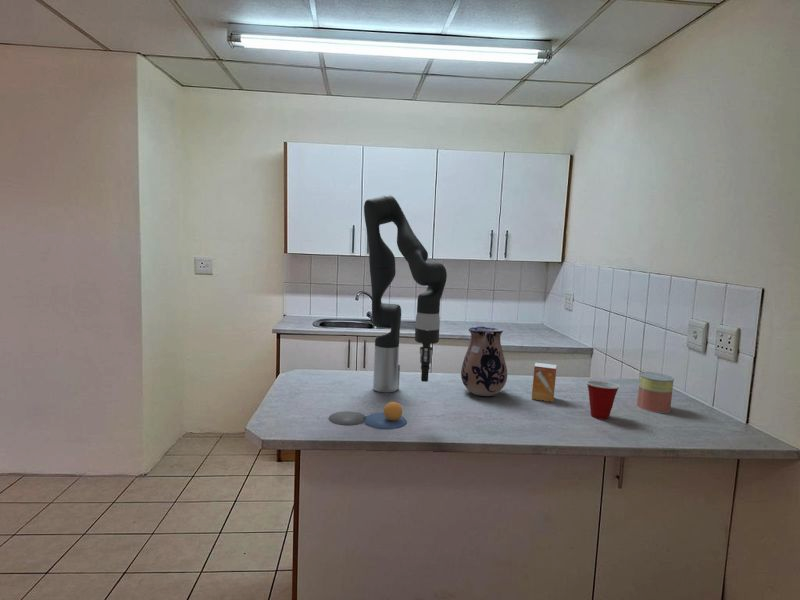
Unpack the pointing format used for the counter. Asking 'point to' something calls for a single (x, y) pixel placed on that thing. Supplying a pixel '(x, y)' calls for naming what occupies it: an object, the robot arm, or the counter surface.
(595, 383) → the plastic cup
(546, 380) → the small box
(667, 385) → the canned food
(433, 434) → the counter surface
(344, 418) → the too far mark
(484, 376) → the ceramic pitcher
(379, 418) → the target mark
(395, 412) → the ball
